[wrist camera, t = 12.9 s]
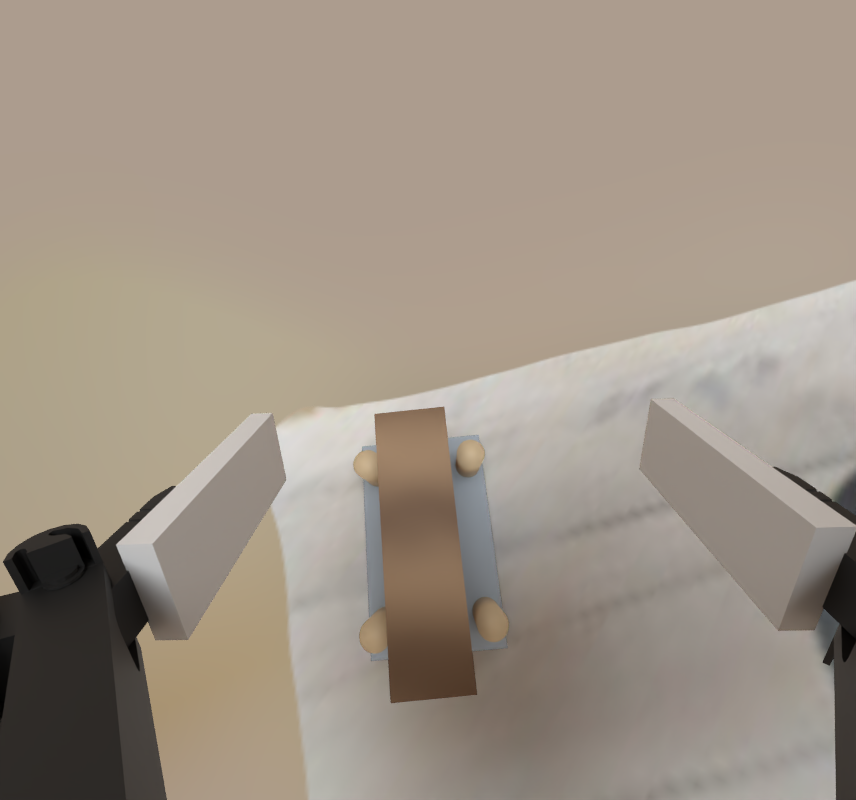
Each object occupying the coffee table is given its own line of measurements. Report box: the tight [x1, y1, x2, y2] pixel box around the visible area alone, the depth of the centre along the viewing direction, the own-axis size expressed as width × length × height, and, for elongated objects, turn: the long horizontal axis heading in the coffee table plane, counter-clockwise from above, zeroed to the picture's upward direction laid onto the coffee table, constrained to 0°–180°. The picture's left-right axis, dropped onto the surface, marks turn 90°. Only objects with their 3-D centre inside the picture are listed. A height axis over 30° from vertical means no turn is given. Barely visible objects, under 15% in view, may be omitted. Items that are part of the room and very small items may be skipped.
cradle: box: [353, 435, 509, 661], centre depth 31 cm, size 16×10×6 cm, turn 5°
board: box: [375, 407, 477, 703], centre depth 27 cm, size 14×4×12 cm, turn 5°
